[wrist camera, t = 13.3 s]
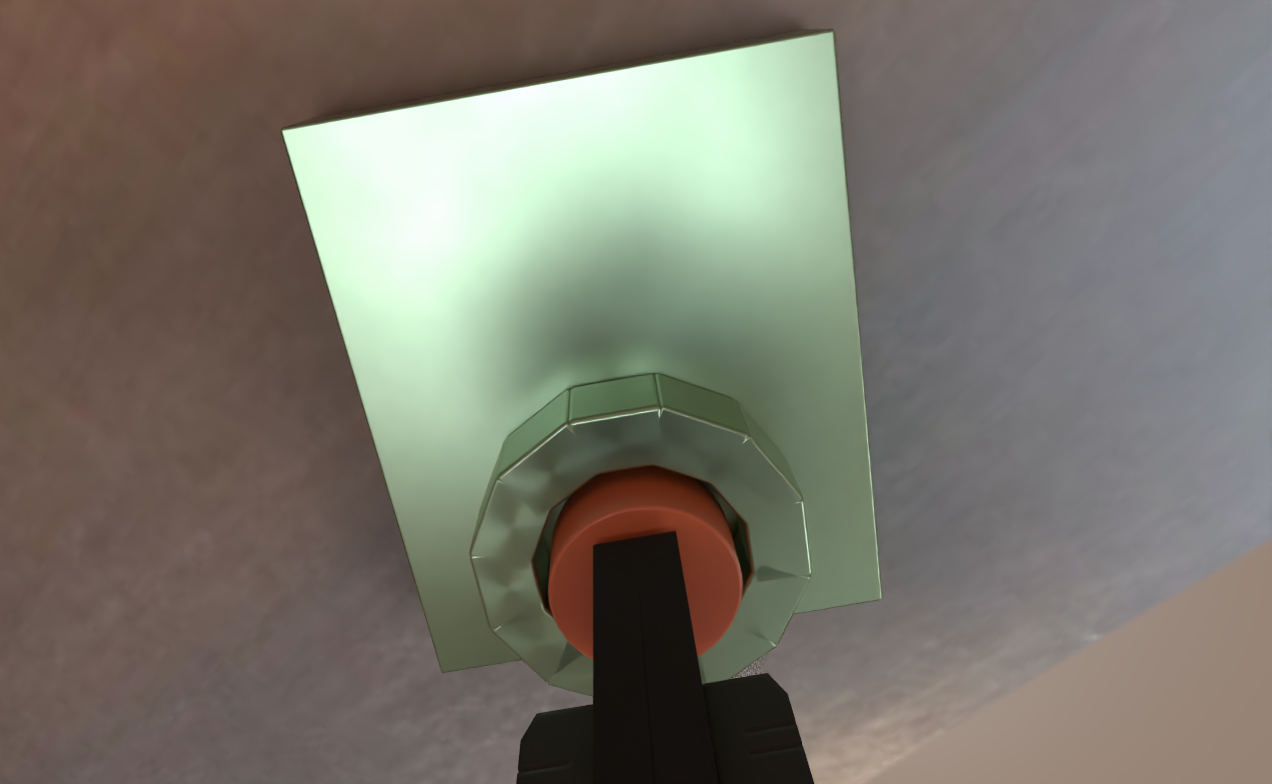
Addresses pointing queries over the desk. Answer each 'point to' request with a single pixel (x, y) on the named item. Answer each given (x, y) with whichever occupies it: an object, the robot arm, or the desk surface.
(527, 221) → the box
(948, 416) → the desk surface
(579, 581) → the bell button
